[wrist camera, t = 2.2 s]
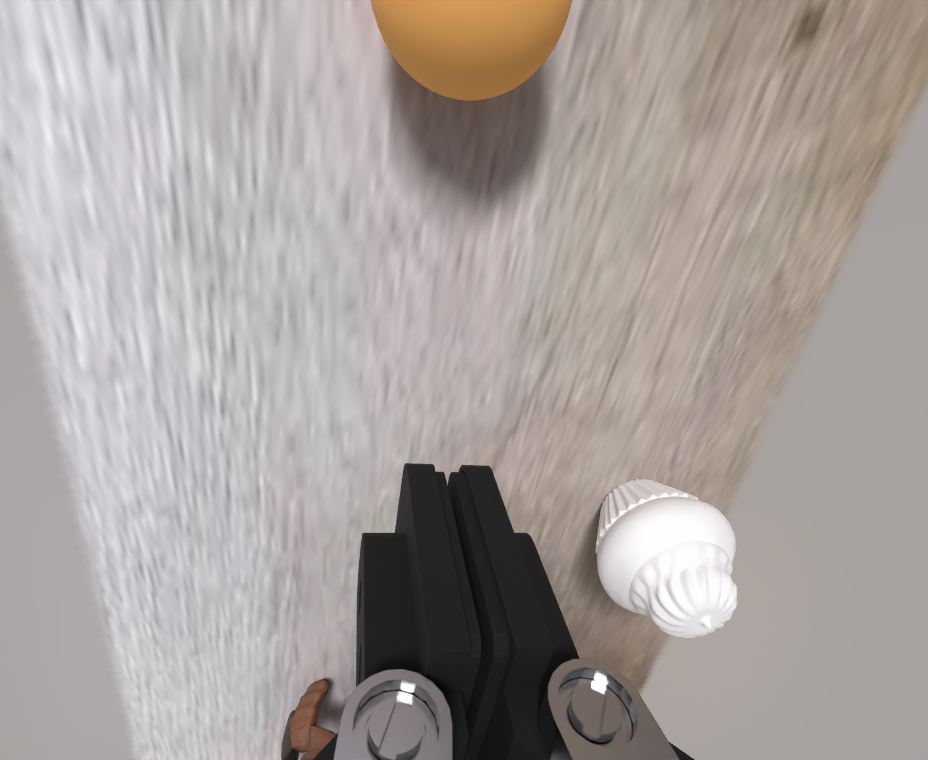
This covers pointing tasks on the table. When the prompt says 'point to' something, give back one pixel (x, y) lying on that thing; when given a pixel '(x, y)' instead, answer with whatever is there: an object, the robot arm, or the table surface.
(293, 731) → the broken clay pot
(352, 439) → the table surface
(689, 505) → the muffin
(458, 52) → the ball
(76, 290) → the table surface
